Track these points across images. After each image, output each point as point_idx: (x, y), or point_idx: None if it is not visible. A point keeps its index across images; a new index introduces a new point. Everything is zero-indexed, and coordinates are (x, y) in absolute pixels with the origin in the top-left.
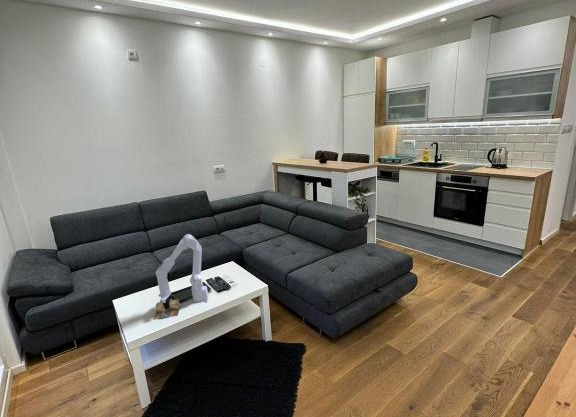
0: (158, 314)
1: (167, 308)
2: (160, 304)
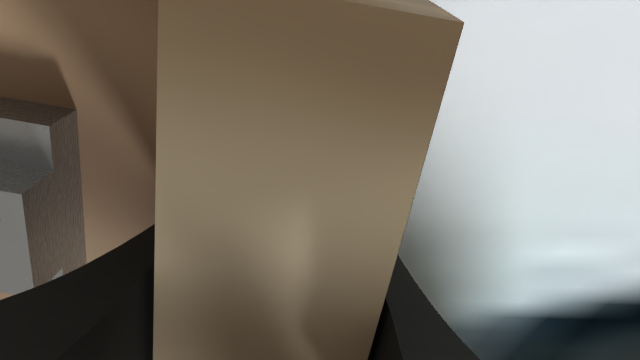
0: (108, 11)
1: None
2: (222, 166)
